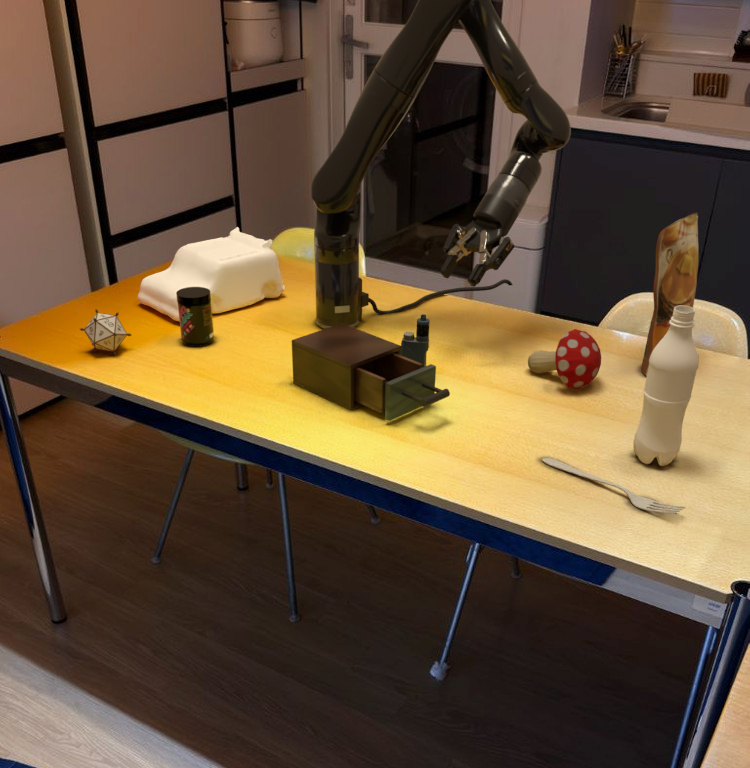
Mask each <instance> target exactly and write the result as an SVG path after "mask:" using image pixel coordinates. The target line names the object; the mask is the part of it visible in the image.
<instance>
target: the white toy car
mask: <svg viewBox="0 0 750 768" xmlns="http://www.w3.org/2000/svg"><path fill="white" fill-rule="evenodd" d="M273 242H274V240H273V239H271V238H269V239H267V240H265V239H263V238H257V237H255V236H254V235H251V234H247V233H246V232H245V233H244V232H241V231H240V228H239V227H238V226H237V227H235V228H234V229H232V230H231V231H229V235H228V236H225V237H221V236H220V237H217V238H211V239H206V240H202V241H197V242H191V243H187V244H185V245H182V246H181V247H179V248H178V249H177V251H176V252H175V254H174V257H173V259H172V262H171V264H170V266H168V268H166V269H165V270H162V271H159V272H156V273H153V274H151V275H150V274H149V275H148V276H147V275H146V277H144V278H143V279H142V280H141V283H140V286H139V292H138V294H137V301H138V302H139V303H140V304H142V305H145V306H148V307H150V308H152V309H154V310H155V311H157V312H158V313H160V314H163V315H165V316H168V317H169V318H171V319H172V320H173V321H176V322H179V323H180V321H179V312H178V303H177V295H176V292H177V291H178V290H180V289H183V288H187V287H203V288H207V289H209V290H210V294H211V307H212V315H214V314H221V313H225V312H228V311H232V310H236V309H241V308H244V307H247V306H251V305H253V304H256V303H258V302H259V301H262V300H264V299H265V298H266V299H275V298H278V297H280V296H281V295H282V293H284V292H285V291H286V286H285V285H284V282H283V275H282V272H281V267H280V261H279V258H278V255H277V254H276V253H275V251H274V250H273V249H272V248H271V246H272V245H273Z"/></svg>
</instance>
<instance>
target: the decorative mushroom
mask: <svg viewBox="0 0 750 768" xmlns="http://www.w3.org/2000/svg"><path fill="white" fill-rule="evenodd" d="M557 343H558V344H557V345H556V346H557V347H556V350H554V351H549V350H542V349H539V350H535V351H533V352H532V353H531V354H530V355H529V356H528V359H527V367H528V369H529V370H530V371H532V372H533V373H534V374H545V373H549V372H552V371H556V373H557V375H558V378H560V381H561V382H562V383H563V385H565V386H566V387H567V388H569V389H572V390H577V391H578V390H580V389H584V387H587V386H589V385H590V384H591V383H592V382H593V381H594V380H595V378H596V377H597V375H598V374H599V372H600V368H601V366H602V365H601V364H602V352H601V348H600V346H599V344H598V343H597V340H596V339H594V337H593V336H592V335H591V334H590V333H588V332H587V331H584V330H581V329H577V328H574V329H572V330H568V331H567V332H565V333H564V334H563V335H562V337H561V338H560V339H559V341H558V342H557Z"/></svg>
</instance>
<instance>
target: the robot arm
mask: <svg viewBox="0 0 750 768" xmlns="http://www.w3.org/2000/svg"><path fill="white" fill-rule="evenodd" d="M457 24H459V25H460V26H461V27H462V29H463V30H464V32H465V33H466V35H467V36H468V39H469V40H470V42H471V44H472V45H473V47H474V49H475V51H476V53H477V55H478V57H479V59H480V61H481V63H482V66H483V67H484V70H485V71H486V73H487V75H488V77H489V79H490V82H491V83H492V84H493V86H494V88H495V90H496V91H497V93H498V95H499V97H500V98H501V100H502V102H503V104H504V105H505V106H506V108H507V109H508V111H509V112H510V113H512V114H516V115H522V116H523V117H525V119H526V120H525V121H524V122H523V123H522V124H521V126H520V127H519V128H518V130H517V132H516V135H515V137H514V140H513V143H512V145H511V149H510V152H509V156H508V158H507V160H506V162H505V163H504V164H503V166H502V167H501V170H500V171H499V172H498V175H497V176H496V178H494V180H493V181H492V183H491V184H490V186H489V187H488V189H487V190H486V192H485V194H484V195H483V197H482V198H481V201H480V202H479V203H478V205H477V207H476V209H475V210H474V212H473V214H472V220H471V222H470V223H468V225H466V227H465V226H460V225H459V224H458V223H455V224H453V225H452V227H451V230H450V231H449V234H448V236H447V238H446V240H445V242H444V245H443V246H442V250H443V252H444V253H445V254H446V255H447V257H446V259H445V261H444V263H442V266H441V267H440V275H442V277H443V278H444V279H449V278H450V277H451V275H452V273H453V271H454V270H455V268H456V267H457V265H458V261H460V260H461V259H462V258H463V257H465V256H466V257H467V256H469V255H470V254H471V253H477V254H479V257H478V258H479V259H478V263H476V264H475V266H474V268H473V270H472V271H471V273H470V274H469V277H468V278H467V282H468V284H469V286H467V287H466V286H465V287H464V286H463V287H454V288H448V289H443V290H438V291H436V292H435V291H434V292H432V293H429V294H425V295H423V296H422V297H420V298H419V299H418V300H416V301H414V302H411V303H408V304H406V305H402V306H400V307H398V308H395V309H391V310H381V309H379V308H378V305H377V303H376V301H374V299H372V298H370V294H369V293H367V292H365V291H363V279H362V277H360V230H361V223H362V222H361V221H362V220H361V217H362V215H361V214H362V183H363V180H364V179H365V176H366V174H367V172H368V170H369V168H370V166H371V165H372V162H373V161H374V159H375V158H376V156H377V155H378V153H379V152H380V151H381V149H382V148H383V147H384V146H385V145H386V143H387V142H388V141H389V139H390V138H391V137H392V136H393V134H394V133H395V131H396V130H397V128H398V127H399V126H400V124H401V123H402V121H403V120H404V119H405V117H406V116H407V113H408V112H409V110H410V109H411V107H412V106H413V104H414V102H415V100H416V99H417V97H418V95H419V94H420V91H421V89H422V88H423V86H424V84H425V82H426V80H427V78H428V77H429V74H430V72H431V70H432V68H433V65H434V63H435V61H436V59H437V57H438V55H439V52H440V50H441V48H442V47H443V45H444V43H445V41H447V38H448V37H449V35H450V34H451V33H452V31H453V29H454V28H455V27H456V25H457ZM571 134H572V127H571V123H570V120H569V117H568V115H567V113H566V111H564V109H563V108H562V107H561V105H560V104H559V103H558V102H557V101H556V100H555V99H554V98H553V97H552V95H551V94H550V93H548V92H547V90H545V89H544V88H543V86H541V84H540V83H539V81H538V79H537V77H536V75H535V73H534V72H533V70H532V68H531V66H530V65H529V62H528V61H527V59H526V58H525V56H524V55H523V53H522V51H521V49H520V48H519V46H518V45H517V44H516V42H515V40H514V39H513V38H512V36H511V35H510V33H509V32H508V30H507V28H506V27H505V26H504V23H503V21H502V19H501V18H500V17H499V14H498V13H497V11H496V9H495V7H494V5H493V3H492V1H491V0H417V2H416V5H415V7H414V9H413V11H412V13H411V15H410V17H409V18H408V20H407V22H406V23H405V25H404V26H403V28H402V29H401V30H400V31H399V33H398V34H397V35H396V36H395V38H394V39H393V40H392V42H391V43H390V44H389V45H388V47H387V48H386V50H385V51H384V53H383V54H382V56H380V59H379V60H378V62H377V63H376V65H375V67H374V68H373V70H372V72H371V74H370V75H369V77H368V79H367V81H366V83H365V85H364V87H363V88H362V91H361V93H360V95H359V97H358V99H357V101H356V103H355V105H354V108H353V109H352V112H351V114H350V116H349V119H348V121H347V123H346V126H345V128H344V130H343V133H342V135H341V136H340V139H339V140H338V142H337V144H336V145H335V147H334V148H333V149H332V150H331V153H329V155H328V157H327V158H326V160H325V161H324V162H323V164H322V165H321V167H319V169H318V170H317V171H316V172H315V174H314V175H313V177H312V180H311V183H310V196H311V200H312V203H313V204H314V207H315V208H316V216H315V217H316V218H315V225H314V231H313V241H314V242H313V243H314V245H313V247H314V283H315V284H314V285H315V286H314V287H315V324H316V326H318V327H319V328H321V329H326V328H329V327H332V326H335V325H338V324H341V323H343V324H345V325H348V326H351V327H353V328H356V327H357V326H359V324H360V323H361V322H363V308H364V307H368V306H369V304H370V305H371V306H372V310H373V311H374V313H375V314H378V315H381V316H382V315H391V314H398V313H401V312H403V311H407V310H409V309H412V308H415V307H417V306H418V305H421V304H422V303H423V302H425V301H427V300H429V299H432V298H435V297H438V296H443V295H448V294H454V293H461V292H483V291H491V290H494V289H496V288H498V287H500V286H502V285H503V284H507V285H508V286H513V283H512V281H511V280H509V279H507V278H505V279H500V280H499V281H497V282H495V283H494V284H491V285H486V286H485V285H484V286H477V285H479V284H480V283H481V281H482V279H483V278H484V276H485V274H486V273H487V271H488V272H489V270H494V271H497V270H499V268H500V267H501V266H502V265H503V263H504V262H505V261H506V259H507V258H508V257H509V255H510V254H511V253H512V251H513V250H514V249H515V244H514V242H513V241H512V239H511V237H510V236H507V235H508V234H509V233H510V230H511V229H512V227H513V226H514V224H515V222H516V221H517V219H518V218H519V215H520V214H521V212H522V210H523V209H524V207H525V205H526V203H527V201H528V199H529V196H530V195H531V193H532V191H533V189H534V188H535V186H536V184H537V183H538V181H539V179H540V177H541V176H542V175H541V174H542V171H543V169H542V168H543V167H542V163H541V162H540V159H541V158H542V156H543V155H544V154H546V153H550V152H554V151H558V150H561V149H562V148H564V147H565V146H566V145H567V144H568V142H569V141H570V139H571ZM465 246H466V247H465ZM494 249H495V250H494Z"/></svg>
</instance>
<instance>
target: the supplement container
mask: <svg viewBox="0 0 750 768" xmlns="http://www.w3.org/2000/svg"><path fill="white" fill-rule="evenodd" d="M176 295H177V303H178V312H179V321H180V322H179V321H178V322H179V329H180V337H181V338H180V339H181V342H182V343H183V344H184V345H185V346H189V347H194V348H195V347H196V348H197V347H204V346H205V347H206V346H208V345H210V344H212V343H213V342H214V340H215V332H214V319H213V314H212V307H211V294H210V290H209V289H207V288H203V287H187V288H183V289H180V290H178V291H177V292H176Z"/></svg>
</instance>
